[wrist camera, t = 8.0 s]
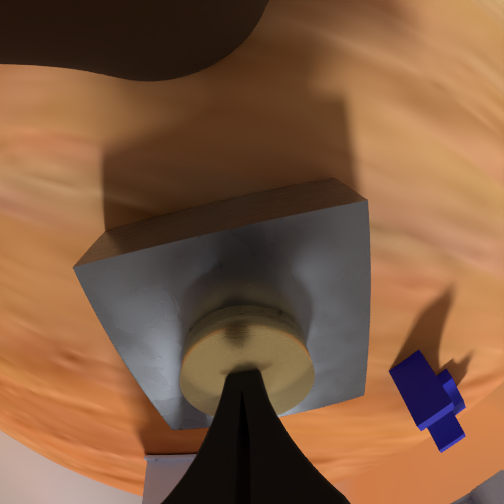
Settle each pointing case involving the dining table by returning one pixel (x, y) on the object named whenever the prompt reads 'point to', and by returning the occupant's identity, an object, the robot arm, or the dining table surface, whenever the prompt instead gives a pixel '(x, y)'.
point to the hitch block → (238, 285)
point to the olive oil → (125, 34)
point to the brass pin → (246, 356)
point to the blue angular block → (430, 399)
